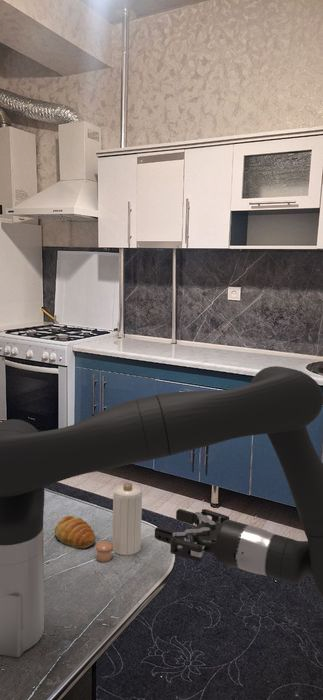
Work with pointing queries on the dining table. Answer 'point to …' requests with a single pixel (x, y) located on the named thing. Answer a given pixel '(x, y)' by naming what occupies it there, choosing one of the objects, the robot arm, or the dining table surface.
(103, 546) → the salmon brown knob
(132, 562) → the dining table surface
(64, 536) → the pastry
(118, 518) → the ribbed lidded canister
